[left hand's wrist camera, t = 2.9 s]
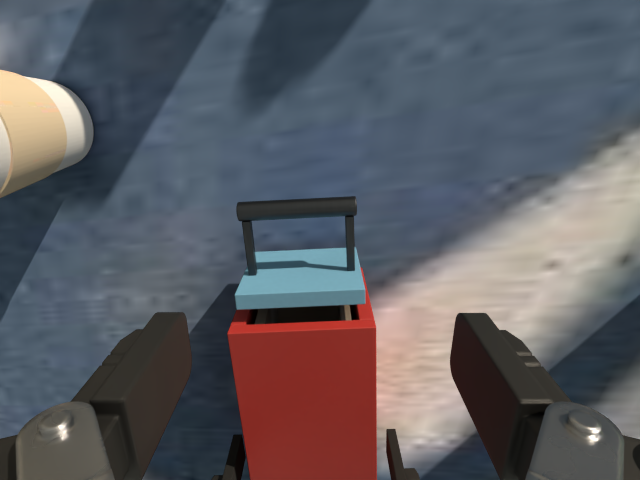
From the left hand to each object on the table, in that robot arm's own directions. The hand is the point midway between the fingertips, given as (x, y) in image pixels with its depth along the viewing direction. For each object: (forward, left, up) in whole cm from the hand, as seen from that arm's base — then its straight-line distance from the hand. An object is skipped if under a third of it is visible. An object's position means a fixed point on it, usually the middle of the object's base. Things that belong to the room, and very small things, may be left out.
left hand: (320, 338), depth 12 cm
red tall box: (-15, +9, -23) cm, 29 cm away
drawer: (-10, +7, -22) cm, 25 cm away
